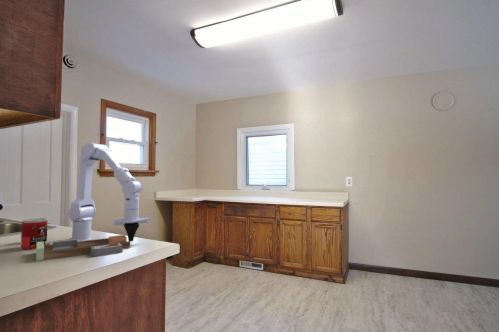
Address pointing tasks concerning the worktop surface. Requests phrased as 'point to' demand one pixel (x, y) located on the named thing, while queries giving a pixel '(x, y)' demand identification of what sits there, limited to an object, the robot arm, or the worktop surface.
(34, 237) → the canned food
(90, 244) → the track
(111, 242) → the block
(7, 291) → the worktop surface
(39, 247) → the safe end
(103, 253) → the traps
